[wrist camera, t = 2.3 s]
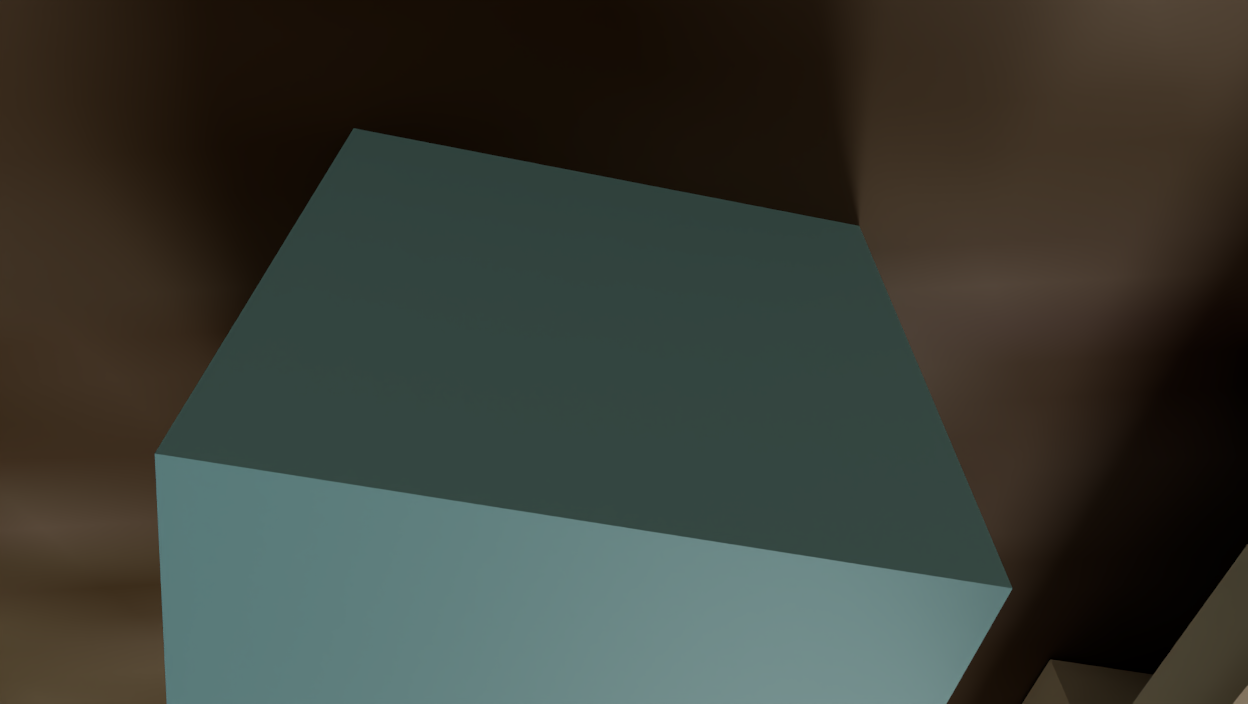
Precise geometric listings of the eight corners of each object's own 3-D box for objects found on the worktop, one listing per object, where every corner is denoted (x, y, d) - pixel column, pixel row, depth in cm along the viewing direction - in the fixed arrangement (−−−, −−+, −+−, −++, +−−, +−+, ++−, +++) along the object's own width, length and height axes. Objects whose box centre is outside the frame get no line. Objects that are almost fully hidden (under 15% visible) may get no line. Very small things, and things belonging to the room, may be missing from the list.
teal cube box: (328, 513, 13) (178, 933, 8) (354, 125, 10) (154, 454, 6) (728, 575, 13) (777, 999, 9) (857, 222, 10) (1013, 589, 6)
